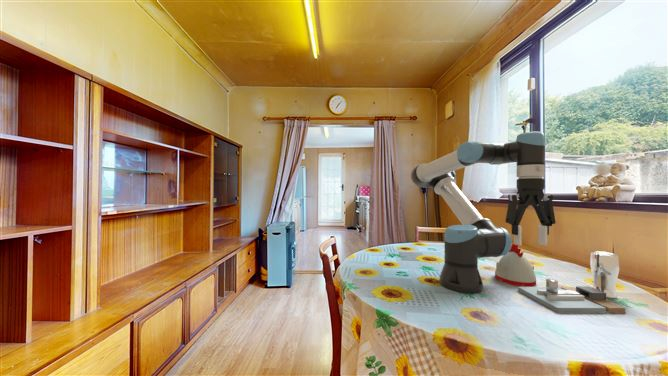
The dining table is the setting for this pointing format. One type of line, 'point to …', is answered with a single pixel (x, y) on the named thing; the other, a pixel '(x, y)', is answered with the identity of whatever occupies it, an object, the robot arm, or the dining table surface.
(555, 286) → the steel bolt
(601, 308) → the door lock board
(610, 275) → the beer glass
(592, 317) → the dining table surface
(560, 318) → the dining table surface
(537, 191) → the robot arm
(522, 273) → the kitchen timer
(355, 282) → the dining table surface
